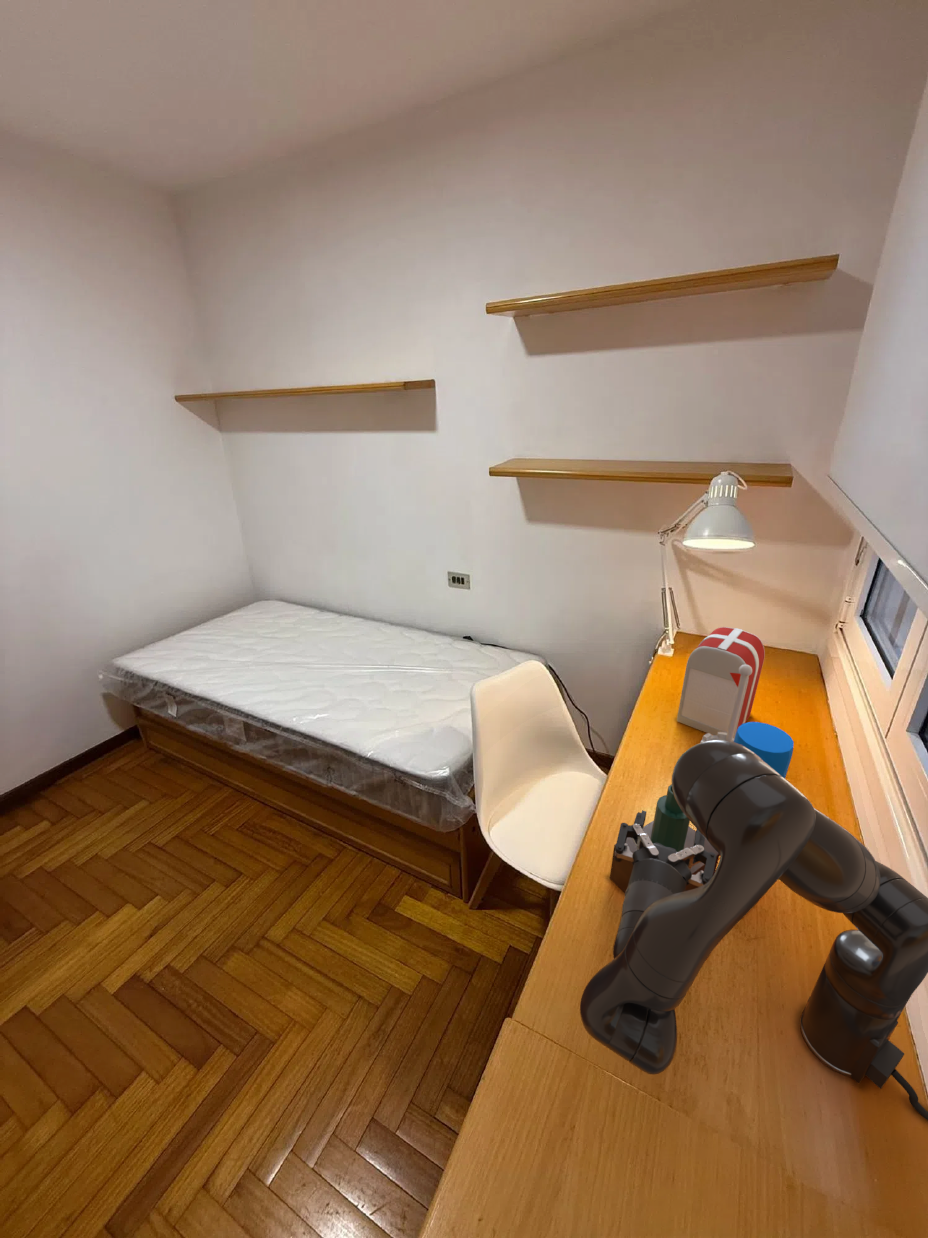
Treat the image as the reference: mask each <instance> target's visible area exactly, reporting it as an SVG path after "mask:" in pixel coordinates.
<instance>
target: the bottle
mask: <svg viewBox="0 0 928 1238" xmlns="http://www.w3.org/2000/svg"><path fill="white" fill-rule="evenodd" d="M655 806H656V807H655V811H654V818H653V821H654V822H653V828H652V833H651V839H650V840H651V842H652V843H655V842H656V843H659V844H661V845H663V846H665V847H671V848H674V849H676V851H677V852H679V851H681V850H683V849H684V845H685V841H686V836H687V832H688V827H690V823H691V821H690V820H689V819H688V818H687V817H686V816H685V814H684V813H683V812H682V810H681V809H680V807H679V805H678V804H677V802H676V799H675V797H674V794H673V790H672V783H671V784H670V785H669V786H668V787H667V791H666V794H664V795H662V796H660V797H659V798H658V800H657V801H656V805H655Z"/></svg>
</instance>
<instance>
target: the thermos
mask: <svg viewBox="0 0 928 1238" xmlns="http://www.w3.org/2000/svg"><path fill="white" fill-rule="evenodd" d="M734 742H735V743H738V744H740V745H743V746H744V747H746V748H748V749H749V750H751V751H752V752H754V753H755V754H756V755H758V756H759V757H760V758H761V759H762V760H763V761H764V762H765V763H767V764H768V765H769V766H770V767H771V768H773V769H774V770H775V771H776V772H777V773H779V774H780V775H781V776H782V777H783V778H785V779H786V777H787V774H788V771H789V767H790V764H791V760H792V758H793V753H794V745H795V743H794V742H795V741H794V740H793V738H792V737H791V736H790V734H788V733H787V732H786V731H784V730H783V729H781V728H780V727H777V726H775V725H772V724H769V723H767V722H759V721H748V722H747V721H746V723H743V724H742V725H740V726H739V727H738V729H737V732H736V735H735V739H734Z"/></svg>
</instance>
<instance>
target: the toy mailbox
mask: <svg viewBox="0 0 928 1238" xmlns="http://www.w3.org/2000/svg"><path fill="white" fill-rule="evenodd" d="M765 656H766V651H765V645H764V643H763V641H762V639H760V637H759V636H757V635H756V634H754V633H751V632H748V631H747V630H746V631H745V630H743V629H741V628H737V627H735V628H734V627H728V626H720V627H718V628H715V629H714V630H713V631H711V632H710V633H709V634H708V636H705V638H703V639H702V641H700V643H699V644H698V645H697V647H696V648H695V649H693V651H692V652H691V653H690V655H689V657H688V659H687V662H686V665H685V672H684V676H683V677H684V678H683V684H682V689H681V695H680V700H679V705H678V710H677V716H676V722H678V723H681V724H683V725H686V726H688V727H691V728H694V729H696V730H699V731H701V732H704V733H705V734H707V733H710V734H711V735H717V732H725V733H727V732H728V728H729V724H730V719H731V715H732V711H733V707H734V702H735V698H736V694H737V689H738V687H737V685H736V683H735V682H734V680H733V678H732V676H731V674H730V673H739V668H740V666H742V665H749V666H750V667H751V668H752V674H751V675H750V676H748V677H747V682H746V686H745V690H744V694H743V698H742V702H741V707H740V711H739V715H738V719H737V723H736V727H735V731H734V736H733V738H734V739H735V735H736V732H737V729H738V727H739V726H740V725H742V724H743V723H747V721H748V720H749V719H750V717H751V714H752V709H753V705H754V702H755V697H756V693H757V690H758V686H759V681H760V678H761V674H762V671H763V670H762V669H763V666H764V662H765ZM739 674H740V673H739Z"/></svg>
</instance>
